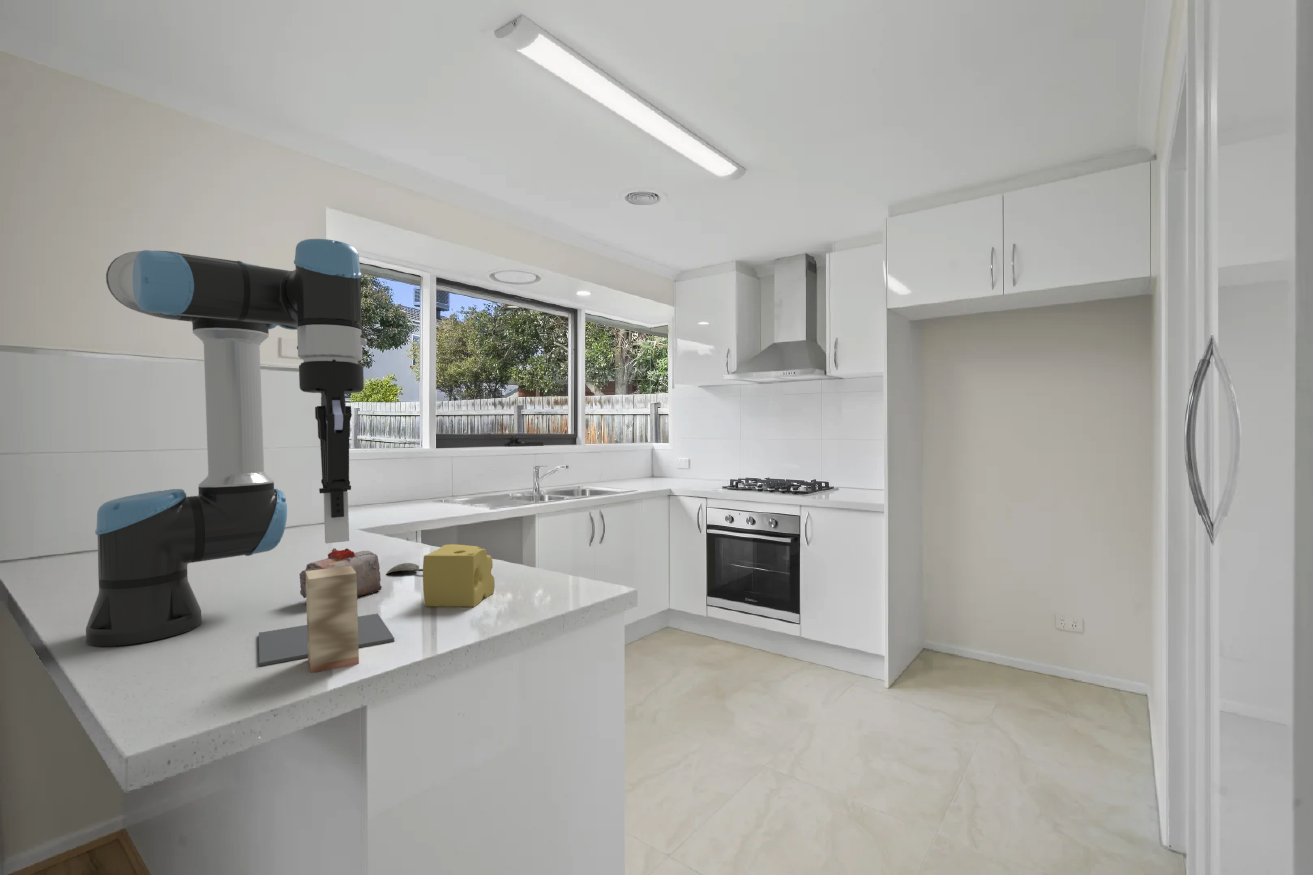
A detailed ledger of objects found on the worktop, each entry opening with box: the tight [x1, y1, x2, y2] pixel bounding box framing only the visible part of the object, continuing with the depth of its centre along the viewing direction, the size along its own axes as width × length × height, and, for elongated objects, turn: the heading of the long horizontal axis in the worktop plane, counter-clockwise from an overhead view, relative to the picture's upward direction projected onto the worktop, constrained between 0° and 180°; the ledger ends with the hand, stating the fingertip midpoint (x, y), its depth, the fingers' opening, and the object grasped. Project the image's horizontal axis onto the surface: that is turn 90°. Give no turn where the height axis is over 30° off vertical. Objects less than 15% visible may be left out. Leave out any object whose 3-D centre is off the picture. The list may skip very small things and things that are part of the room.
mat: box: [258, 613, 395, 667], centre depth 101 cm, size 18×16×1 cm
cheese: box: [422, 543, 495, 608], centre depth 123 cm, size 10×11×10 cm
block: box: [305, 566, 360, 674], centre depth 91 cm, size 6×6×13 cm
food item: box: [299, 547, 383, 599], centre depth 126 cm, size 14×8×10 cm, turn 151°
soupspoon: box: [385, 562, 423, 575], centre depth 143 cm, size 22×3×7 cm
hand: (337, 541), depth 83 cm, fingers closed
